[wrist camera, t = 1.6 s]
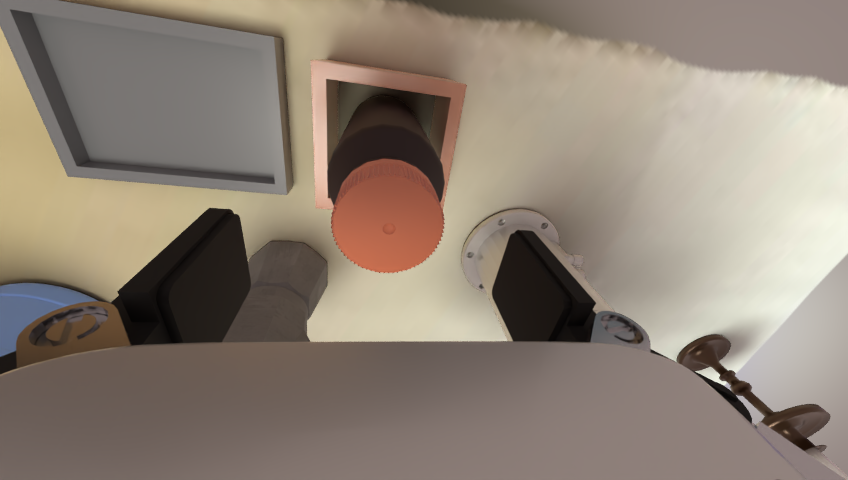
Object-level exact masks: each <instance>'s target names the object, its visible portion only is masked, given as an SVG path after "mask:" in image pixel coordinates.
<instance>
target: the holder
mask: <svg viewBox="0 0 848 480" xmlns="http://www.w3.org/2000/svg"><path fill="white" fill-rule="evenodd" d="M338 81H345V82H351V83H358V84H365V85H371V86H378V87H384V88H391V89H398V90H404V91H411V92H418V93H424V94H431V95H436V98H435V104H434V111H433V118H432V124H431V131H430V138H429V140H430V142H431V144H432V146H433V147H434V149H435V151H436V153H437V155H438V157H439V159H440V161H441V163H442V166H443V173H444V180H445V185H444V191H443V197H442V200H441V202H440V204H441V207H442V210H443V206H444V201H445V196H446V190H447V185H448V180H449V175H450V170H451V164H452V159H453V154H454V149H455V143H456V138H457V133H458V128H459V123H460V117H461V112H462V107H463V102H464V97H465V91H466V86H467V85H466V84H463V83H460V82H456V81H453V80H450V79H445V78H439V77H432V76H426V75H420V74H414V73H408V72H402V71H395V70H389V69H383V68H377V67H371V66H364V65H358V64H352V63H346V62H340V61H333V60H327V59H322V60H311V85H312V114H313V143H314V173H315V202H316V208H321V209H333V208H334V206H333V203H332V201H331V198H330V195H329V192H328V187H327V170H328V167H329V164H330V161H331V158H332V155H333V152H334V150H335V148H336V146H337V145H338Z"/></svg>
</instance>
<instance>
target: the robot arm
mask: <svg viewBox="0 0 848 480" xmlns="http://www.w3.org/2000/svg"><path fill="white" fill-rule="evenodd" d="M500 219H501V220H500ZM461 262H462V268H463V271H464V274H465V276H466V278H467V279H468V281H469V282H470V283H471V284H472V285H473V286H474V287H475V288H476V289H478V290H479V291H482V292H484V293H487V295H488V297H489V300H490V302H491V304H492V306H493V309H494V311H495V313H496V315H497V318H498V320H499V322H500V324H501V327H502V329H503V331H504V333H505V336H506V338H507V340H508V341H424V342H222V341H223V339H224V338H225V336H226V334H227V332H228V330H229V328H230V326H231V325H232V323H233V321H234V319H235V317H236V315H237V314H238V312H239V310H240V308H241V306H242V304H243V302H244V301H245V299H246V297H247V295H248V293H249V291H250V288H251V278H250V273H249V267H248V261H247V256H246V250H245V244H244V239H243V233H242V227H241V221H240V217H239V215H237V214H234V213H233V211H232V210H231V209H217V208H209V209H207V210H206V211H205V212H204V213H203V214H202V215H201V216H200V217H199V218H198V219H197V220H195V221H194V222H193V223H192V224H191V225H190V226H189V227H188V228H187V229H186V230H184V231H183V232H182V233H181V234H180V235H179V236H178V237H177V238H176V239H175V240H174V241H172V242H171V243H170V244H169V245H168V246H167V247H166V248H165V249H164V250H163V251H161V252H160V253H159V254H158V255H157V256H156V257H155V258H154V259H153V260H152V261H150V262H149V263H148V264H147V265H146V266H145V267H144V268H143V269H142V270H141V271H140V272H138V273H137V274H136V275H135V276H134V277H133V278H132V279H131V280H130V281H129V282H127V283H126V284H125V285H124V286H123V287H122V288H121V289H120V290H119V291H118V294H119V296H118V297H117V298H116V299H115V300H113V301H112V302H111V303H107V302H100V301H92V302H82V303H77V304H73V305H69V306H65V307H63V308H60V309H57V310H54V311H52V312H50V313H48V314H46V315H44V316H42V317H40V318H38V319H36V320H35V321H33V322H32V323H31V324H29V325H28V326H26V327H25V328H24V330H23V331H22V332H21V333H20V334H19V335H18V338H17V341H16V351H14V352H11V353H9V354H6V355H3V356H1V357H0V480H846V479H844V478H843V477H841V476H840V475H839V474H837V473H836V472H834V471H833V470H831V469H830V468H828V467H827V466H825V465H824V464H822V463H821V462H819V461H818V460H816V459H815V458H813V457H812V456H811V455H809V454H808V453H806V452H805V451H803V450H802V449H800V448H799V447H797V446H796V445H794V444H793V443H791V442H790V441H788V440H787V439H785V438H784V437H783V436H781V435H780V434H778V433H777V432H775V431H774V430H772V429H771V428H769V427H768V426H766V425H765V424H763V423H762V422H759V423H757V424H756V425H755V424H754V423H752V418H751V415H750V413H749V411H748V410H747V408H746V407H745V406H744V404H743V403H742V402H741V401H740V400H739V399H738V398H737V396H736V395H735V394H734V393H733V392H732V391H730V390H729V389H727V388H726V387H725V386H723V385H721V384H719V383H717V382H714V381H712V380H710V379H708V378H706V377H704V376H702V375H700V374H699V373H697V372H695V371H693V370H691V369H689V368H687V367H685V366H683V365H681V364H679V363H677V362H675V361H673V360H671V359H669V358H667V357H665V356H663V355H661V354H659V353H657V352H655V351H653V350H651V349H650V340H649V336H648V335H647V333H646V332H645V330H644V329H643V328H642V327H641V326H639V325H638V324H637V323H636V322H634V321H633V320H631V319H630V318H628V317H626V316H624V315H622V314H619V313H616V312H615V311H614V310H613V309H612V308H611V307H610V306H609V305H608V304H607V303H606V301H605V300H604V299H603V298H602V297H601V296H600V295H599V294H598V293H597V292H596V291H595V289H594V288H593V287H592V286H591V285H590V284H589V283H588V282H587V281H586V280H585V279H586V275H585V272H584V271H583V270H581V269H575V268H574V267H573V266H572V265H575V266H581V265H582V264H583V262H584V258H583V256H582V255H576V254H571V255H567V254H566V253H565V251H564V250H563V249H562V248H561V247H560V240H559V235H558V232H557V230H556V228H555V227H554V226H553V224H552V223H551V222H550V221H549V220H548V219H547V218H546V217H544V216H543V215H541V214H539V213H537V212H534V211H531V210H525V209H515V210H508V211H504V212H500V213H498V214H496V215H493V216H491V217H489V218H488V219H486V220H485V221H483V222H482V223H481V224H480V225H479V226H477V227H476V228H475V229H474V230H473V232H472V233H471V234H470V236H469V237H468V239H467V241H466V243H465V244H464V248H463V251H462V258H461Z"/></svg>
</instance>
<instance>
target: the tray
mask: <svg viewBox="0 0 848 480" xmlns="http://www.w3.org/2000/svg"><path fill="white" fill-rule="evenodd" d="M0 26H1V29H2V31H3V33H4V35H5V38H6V40H7V42H8V44H9V46H10V49H11V51H12V53H13V55H14V58H15V60H16V62H17V64H18V66H19V69H20V71H21V73H22V75H23V78H24V80H25V82H26V84H27V87H28V89H29V91H30V93H31V95H32V98H33V100H34V102H35V104H36V107H37V109H38V111H39V113H40V116H41V118H42V120H43V122H44V124H45V127H46V129H47V131H48V133H49V136H50V138H51V140H52V142H53V144H54V147H55V149H56V151H57V153H58V156H59V158H60V160H61V162H62V165H63V167H64V169H65V171H66V173H67V176H68V177H80V178H92V179H104V180H115V181H127V182H139V183H151V184H162V185H174V186H186V187H198V188H210V189H221V190H233V191H245V192H257V193H269V194H280V195H287V194H288V193H289V191H290V190H291V189H292V187H293V174H292V160H291V146H290V132H289V117H288V103H287V89H286V75H285V61H284V47H283V38H277V37H272V36H266V35H260V34H254V33H248V32H243V31H237V30H231V29H225V28H219V27H213V26H207V25H201V24H195V23H189V22H183V21H178V20H172V19H166V18H160V17H154V16H148V15H142V14H136V13H130V12H124V11H118V10H112V9H107V8H101V7H95V6H89V5H83V4H77V3H71V2H65V1H59V0H0Z"/></svg>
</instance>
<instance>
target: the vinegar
mask: <svg viewBox="0 0 848 480" xmlns="http://www.w3.org/2000/svg"><path fill="white" fill-rule="evenodd" d="M444 185H445V180H444V173H443V166H442V163H441V161H440V159H439V157H438V155H437V153H436V151H435V149H434V147H433V146H432V144H431V142H430V140H429V139H428V137H427V135H426V133H425V132H424V130H423V128H422V127H421V125H420V123H419V121H418V120H417V118H416V116H415V115H414V113H413V111H412V110H411V109H410V108H409V107H408V106H407V105H406V104H405V103H404V102H403V101H401V100H399V99H397V98H395V97H391V96H383V95H381V96H376V97H371V98H369V99H368V100H366V101H364V102H363V103H361V104H360V105H359V107H358V108H357V109H356V111H355V112H354V113H353V115H352V117H351V119H350V121H349V123H348V125H347V127H346V129H345V131H344V133H343V135H342V137H341V139H340V141H339V143H338V145H337V146H336V148H335V150H334V152H333V155H332V158H331V161H330V164H329V167H328V170H327V187H328V192H329V195H330V198H331V201H332V203H333V206H334V208H333V212H332V217H331V219H332V221H331V224H332V226H331V228H333V229H332V233H334V234H333V237H335V239H334V241H337V243H336V245H338V246H339V248H338V249H341V252H344V256H345V255H346V256H347V259H348V258H349V259H350V260H351V261H353V262H354V264H355V263H356V264H358V266H361V267H362V268H366V270H367V269H369V270H370V271H372V270H373V271H375V272H379V273H380V272H384V273H385V272H388V273H389V272H393V273H394V272H397V273H398V271H402V270H407V269H411V268H412V267H415V266H416V265H419V264H420V263H422V262H423V261H424V260H426V258H427V257H428V258H429V255H430V254H431V255H432V252H433V251H435V250H434V249H435V248H437V244H439V241H441V237H443V236H442V233H444V232H443V229H444V226H443V225H444V224H445V223H444V221H443V220H444V217H443V216H444V214H443V210H442V207H441V204H440V202H441V200H442V197H443V191H444Z"/></svg>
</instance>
